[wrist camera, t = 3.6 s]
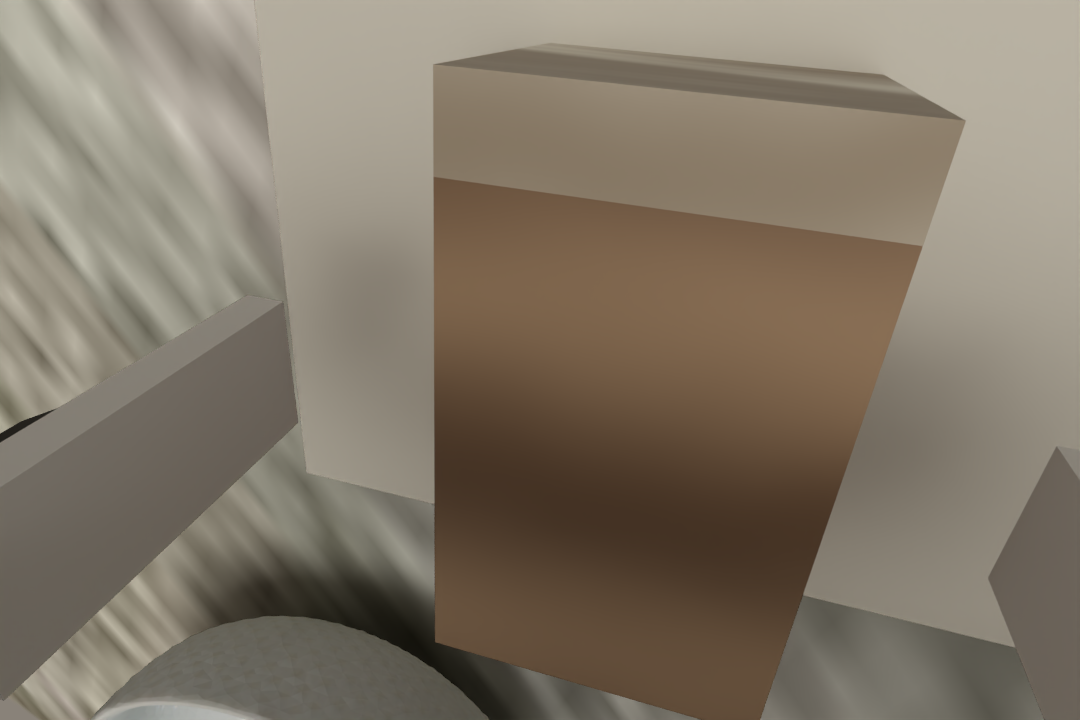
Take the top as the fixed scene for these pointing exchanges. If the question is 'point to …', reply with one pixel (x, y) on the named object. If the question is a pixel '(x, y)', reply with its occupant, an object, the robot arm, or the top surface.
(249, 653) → the cereal bowl
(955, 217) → the mat
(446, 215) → the block
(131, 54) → the top surface
